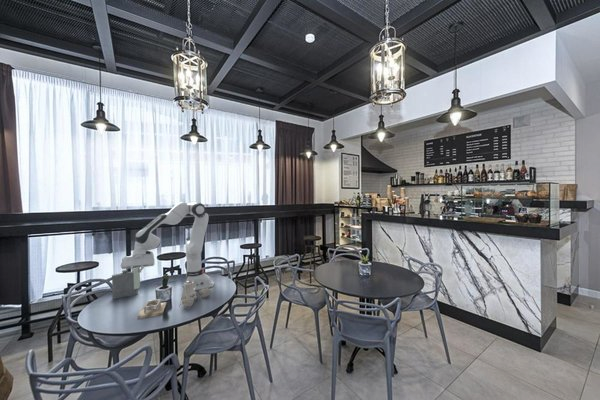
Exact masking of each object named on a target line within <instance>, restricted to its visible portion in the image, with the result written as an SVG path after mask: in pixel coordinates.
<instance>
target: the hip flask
mask: <svg viewBox="0 0 600 400" xmlns="http://www.w3.org/2000/svg"><path fill="white" fill-rule="evenodd" d="M111 284H112V285H111V287H112V288H111V289H112V292H111V293H112V299H113V300H115V299H118V298H124V297H129V296H130V297H131V296H136V295H138V294H139V288H138V289H134V273H132V271H128V269H122V270H121V273H116V274H112V275H111Z"/></svg>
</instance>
